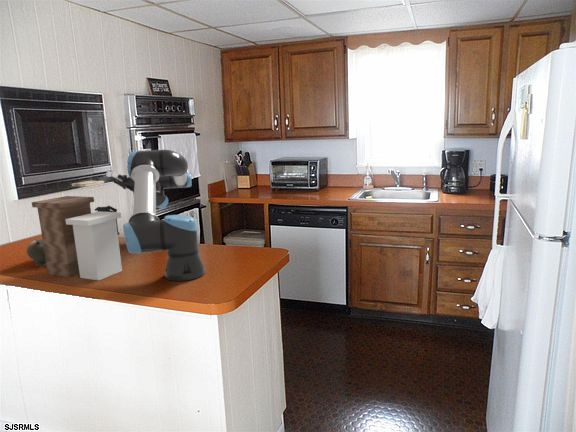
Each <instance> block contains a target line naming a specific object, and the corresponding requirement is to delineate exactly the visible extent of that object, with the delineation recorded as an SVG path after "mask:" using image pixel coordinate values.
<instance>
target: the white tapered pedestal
mask: <svg viewBox="0 0 576 432" xmlns="http://www.w3.org/2000/svg"><path fill="white" fill-rule="evenodd" d="M121 218H122V212H118V211H117V212H101V211H99V212H98V211H94V212H91V213H90V214H86V215H81V216H77V217H73V218H69V219H65V220H66V224H68V225H73V231H74V238H75V245H76V252H77V258H78V265H79V272H80V274H79V277H80V279H86V280H92V281H100V280H101V281H102V280H103V279H106V278H108V277H110V276H113V275H115V274H118V273H120V272H123V267H122V266H123V265H122V257H121V249H120V242H119V235H118V233H117V225H118V224H117V225H116V219H117V220H118V219H121Z"/></svg>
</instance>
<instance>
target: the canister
mask: <svg viewBox="0 0 576 432" xmlns="http://www.w3.org/2000/svg"><path fill="white" fill-rule="evenodd" d="M99 211H101V212H118V209H117V208H115V207H113V206H110V205H107V206H97V207H95V208H94V212H99ZM116 225H117V233H118V236H119V235H120V232H119V226H118V218H117V219H116Z"/></svg>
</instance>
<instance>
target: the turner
mask: <svg viewBox="0 0 576 432" xmlns="http://www.w3.org/2000/svg"><path fill="white" fill-rule="evenodd" d="M122 175H123V176H125V175H126V174H122ZM94 179H95V180H87V181H86V180H85V181H80V182H79V181H78V182H74V183H71V187H77V188H78V187H79V188H81V187H82V188H83V187H85V188H86V187H91V186H97V185H103V184H106V183H110V182H111V183H112V182H113V181H118V180H117V179H116V178H114V177H112V176H111V177H107V176H105V177H99V178H94Z"/></svg>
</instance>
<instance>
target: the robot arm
mask: <svg viewBox="0 0 576 432" xmlns="http://www.w3.org/2000/svg"><path fill="white" fill-rule="evenodd" d="M126 163H127V165H126V166H127V168H126V170H127V174H128V175H127V174H121V173H120V172H118V171H115V170H113V169H112V170H106V172H105V177H111V176H112V177H114V178H116V179H117V180H118V181H112V182H113V184H116V185H117V186H118V187H120V188H122V189H123V190H127V189H128V190H129V191H131V192H132V193H133V207H132V209H133V210H132V215H130V217H129V219H128V222H126V223H124V224H123V226H122V227H123V235H124V241H125V245H126V248H127V249H126V250H127V251H128V253H130V254H145V253H156V252H164V251H165V252H166V251H167V261H166V265H165V271H164V273H165V274H164V276H165V277H164V278H165V279H167V280H169V281H174V282H184V281H190V280H195V279H198V278H200V277H203V276H204V275H205V273H206V267H205V264H204V263H203V259H202V257H201V255H200V252H199V240H198V232H197V231H198V228H197V222H196V219H195V218H194V217H192V216H189V215H183V214H168V215H165V216H164V218H163V219H162V220H160V218H159V217H158V215H157V209H164V208H166V207H167V205H168V204H169V198H168V196H167V195H165V190H166V189H180V188H181V189H183V188H184V189H186V188H191V187H193V186H192V175H191V174H192V173H189V172H188V170H189V169H188V168H189V163H188V161H187V159H186V158H185V157H184V156H183V155H182V154H181V153H179V152H177V151H174V150H170V149H153V150H152V149H150V150H149V149H148V150H136V151H131V152H129V154H128V157H127V162H126ZM187 172H188V173H187ZM123 175H125V176H123Z"/></svg>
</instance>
